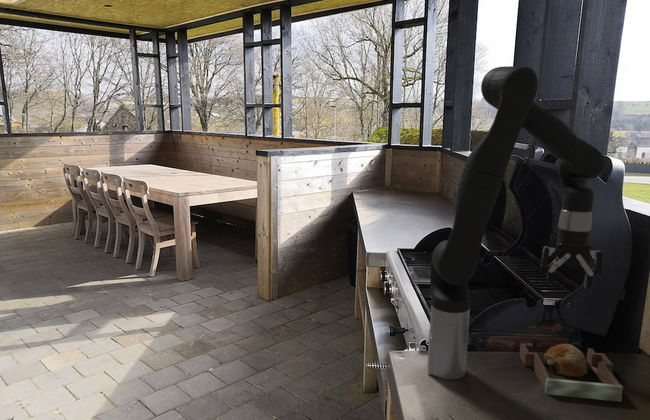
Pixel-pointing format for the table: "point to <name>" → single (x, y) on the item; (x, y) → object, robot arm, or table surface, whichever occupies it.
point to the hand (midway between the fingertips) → (568, 286)
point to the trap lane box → (580, 389)
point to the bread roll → (565, 360)
